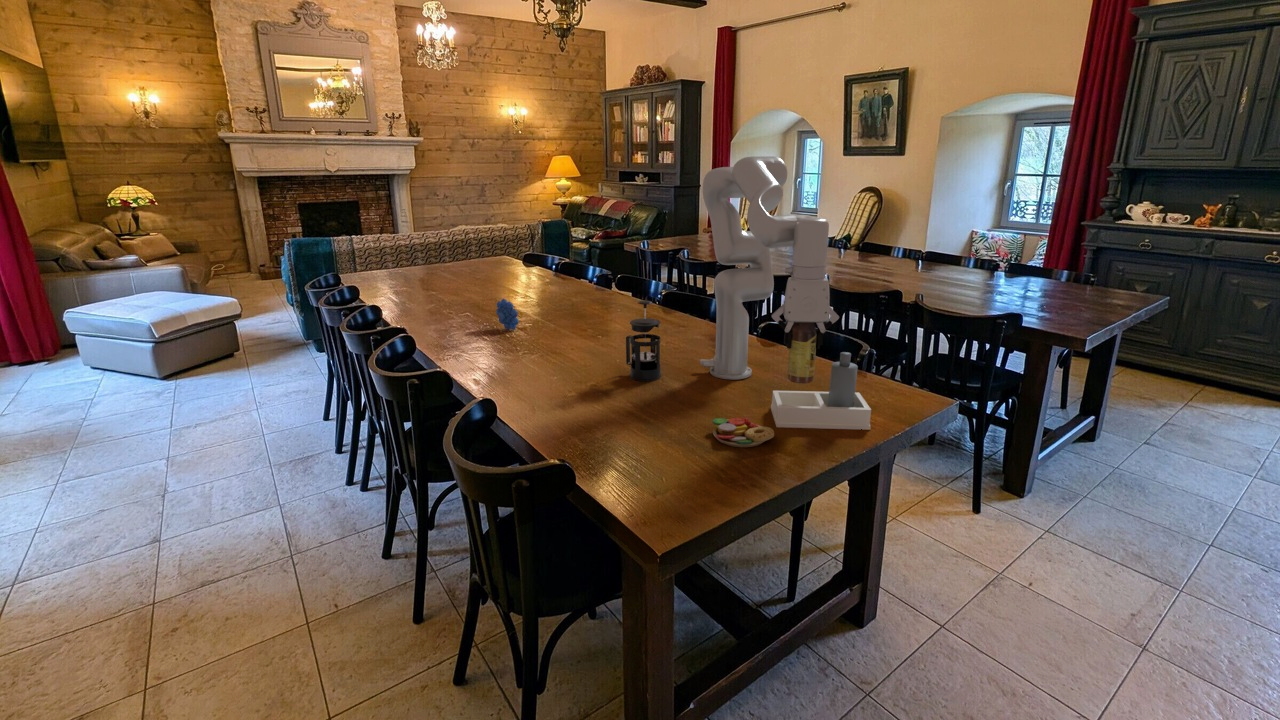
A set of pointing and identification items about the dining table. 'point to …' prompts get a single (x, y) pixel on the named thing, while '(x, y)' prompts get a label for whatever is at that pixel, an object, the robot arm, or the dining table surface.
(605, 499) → the dining table surface
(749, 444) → the toy food set
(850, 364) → the condiment caddy
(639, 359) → the french press
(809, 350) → the sauce bottle
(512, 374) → the dining table surface
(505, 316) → the grapes
